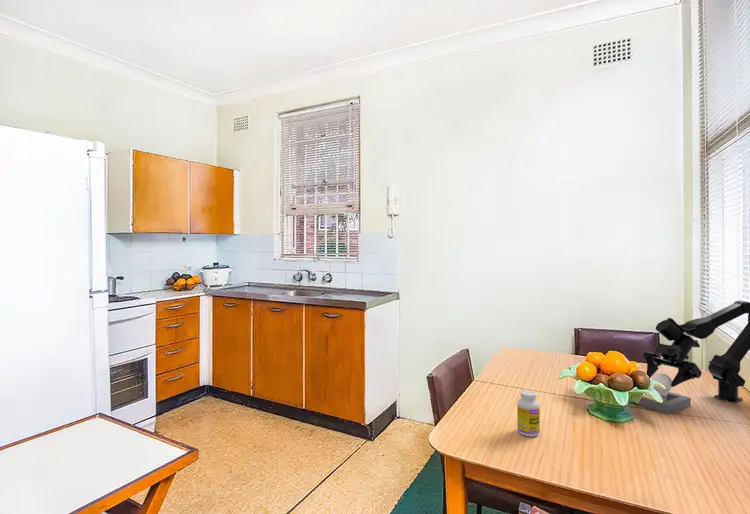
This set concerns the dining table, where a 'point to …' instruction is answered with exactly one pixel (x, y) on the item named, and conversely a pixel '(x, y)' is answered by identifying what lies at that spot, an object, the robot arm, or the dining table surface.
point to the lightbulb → (664, 381)
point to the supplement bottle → (528, 414)
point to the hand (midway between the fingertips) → (659, 382)
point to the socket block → (666, 403)
